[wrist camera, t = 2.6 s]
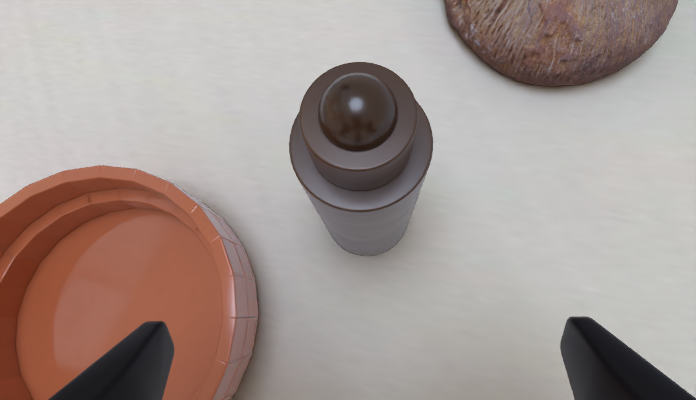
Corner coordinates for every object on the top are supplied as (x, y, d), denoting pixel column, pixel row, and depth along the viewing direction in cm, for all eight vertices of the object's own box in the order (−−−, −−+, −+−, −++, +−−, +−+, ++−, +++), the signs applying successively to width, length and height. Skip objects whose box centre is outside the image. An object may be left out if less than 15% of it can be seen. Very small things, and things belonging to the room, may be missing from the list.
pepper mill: (390, 268, 22) (411, 211, 9) (313, 237, 22) (234, 144, 10) (419, 192, 22) (474, 46, 10) (344, 164, 23) (309, -6, 11)
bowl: (184, 516, 19) (137, 568, 15) (-48, 392, 21) (-142, 410, 17) (303, 243, 22) (288, 229, 18) (87, 156, 24) (32, 126, 20)
